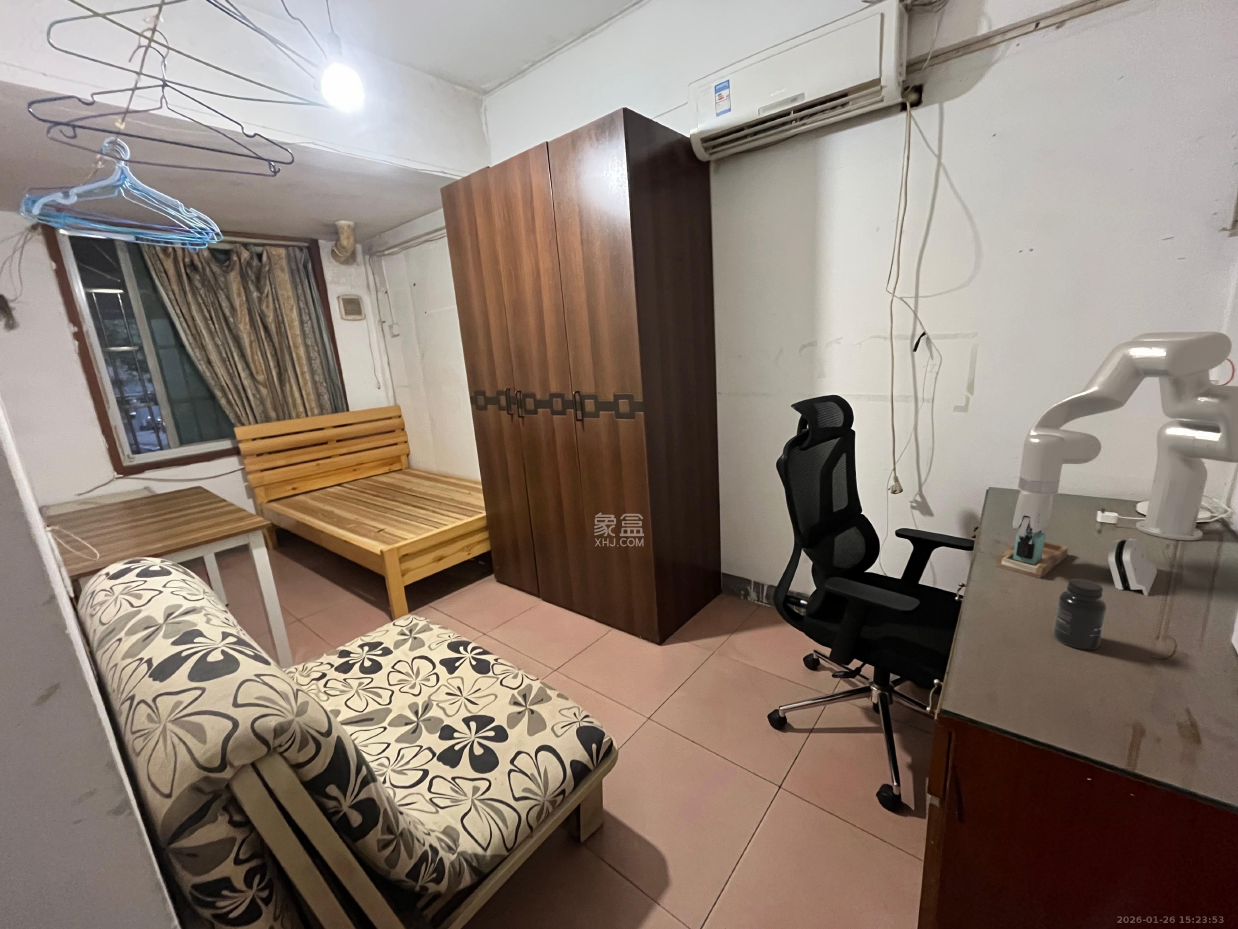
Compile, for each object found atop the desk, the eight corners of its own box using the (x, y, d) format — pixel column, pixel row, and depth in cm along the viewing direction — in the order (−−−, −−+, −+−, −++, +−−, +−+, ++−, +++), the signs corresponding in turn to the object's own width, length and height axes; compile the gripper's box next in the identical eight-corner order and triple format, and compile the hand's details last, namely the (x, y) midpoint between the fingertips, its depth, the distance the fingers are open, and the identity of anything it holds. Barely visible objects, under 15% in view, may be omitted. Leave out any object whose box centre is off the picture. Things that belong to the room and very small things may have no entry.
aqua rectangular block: (1019, 553, 129) (1023, 528, 128) (1041, 559, 126) (1045, 533, 124) (1012, 559, 127) (1016, 533, 125) (1034, 564, 123) (1038, 538, 122)
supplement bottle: (1103, 655, 92) (1115, 596, 90) (1055, 645, 96) (1065, 588, 93) (1094, 635, 98) (1105, 580, 95) (1049, 627, 102) (1058, 573, 99)
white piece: (1147, 596, 110) (1133, 552, 110) (1117, 595, 114) (1104, 553, 114) (1157, 571, 120) (1144, 531, 120) (1130, 571, 124) (1117, 532, 124)
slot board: (1024, 545, 138) (1025, 537, 137) (1066, 555, 130) (1068, 547, 130) (996, 566, 127) (997, 557, 127) (1040, 578, 120) (1041, 569, 119)
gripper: (1032, 475, 129) (1022, 540, 134) (1005, 489, 120) (996, 559, 125) (1069, 480, 123) (1058, 549, 128) (1045, 496, 114) (1034, 569, 118)
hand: (1028, 553), depth 126 cm, fingers closed on aqua rectangular block, 4 cm apart
